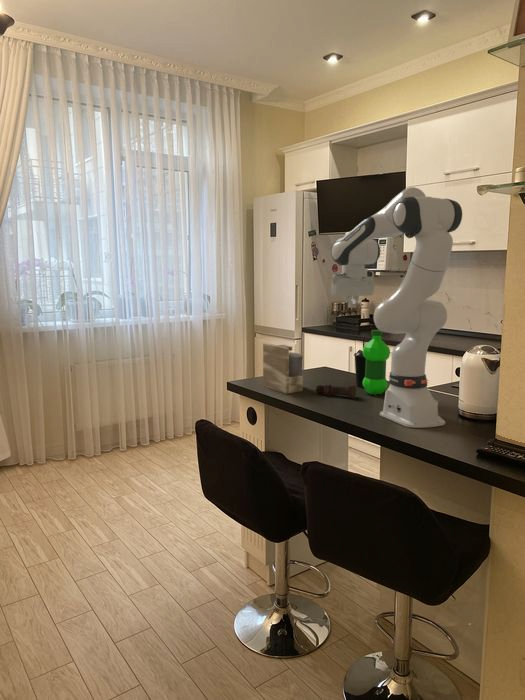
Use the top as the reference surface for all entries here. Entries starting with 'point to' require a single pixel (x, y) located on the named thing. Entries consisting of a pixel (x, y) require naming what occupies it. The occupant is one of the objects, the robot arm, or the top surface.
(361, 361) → the drinking cup
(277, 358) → the cradle
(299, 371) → the pillar candle
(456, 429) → the top surface
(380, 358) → the plastic bottle
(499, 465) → the top surface
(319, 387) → the bolt
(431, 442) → the top surface
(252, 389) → the top surface
